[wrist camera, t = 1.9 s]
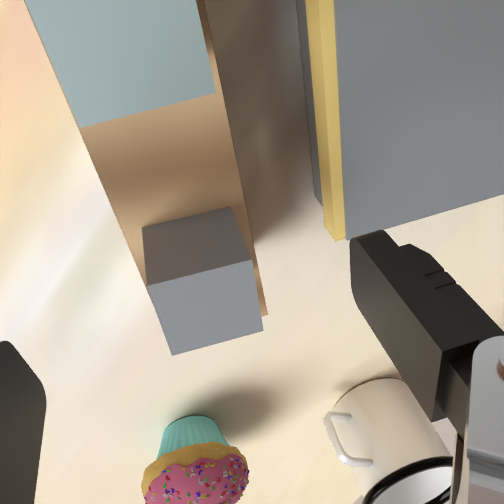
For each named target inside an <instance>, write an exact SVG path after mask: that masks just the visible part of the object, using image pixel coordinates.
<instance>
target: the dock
mask: <svg viewBox="0 0 504 504" xmlns="http://www.w3.org/2000/svg"><path fill="white" fill-rule="evenodd" d="M296 5H297V16H298V26H299V36H300V46H301V57H302V67H303V77H304V88H305V98H306V108H307V119H308V129H309V139H310V150H311V160H312V170H313V181H314V191H315V197H316V198H317V200H318V201H319V202H320V204H321V205H322V206H323V214H324V225H325V227H326V229H327V230H328V232H329V233H330V234H331V236H332V237H333V239H334V240H335V241H338V240H342V239H345V238H346V240H350V239H351V238H354V237H357V236H361V235H364V234H367V233H371V232H374V231H377V230H384V229H387V228H391V227H394V226H397V225H401V224H404V223H408V222H411V221H414V220H418V219H421V218H425V217H428V216H431V215H435V214H438V213H442V212H445V211H448V210H452V209H455V208H459V207H462V206H465V205H469V204H472V203H476V202H479V201H482V200H486V199H489V198H492V197H496V196H499V195H503V194H504V0H296Z"/></svg>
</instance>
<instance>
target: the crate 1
mask: <svg viewBox="0 0 504 504" xmlns="http://www.w3.org/2000/svg"><path fill="white" fill-rule="evenodd" d="M24 1H25V3H26V5H27V7H28V10H29V12H30V14H31V17H32V19H33V21H34V24H35V26H36V28H37V31H38V33H39V35H40V38H41V40H42V42H43V45H44V47H45V49H46V52H47V54H48V56H49V58H50V61H51V63H52V65H53V68H54V70H55V72H56V75H57V77H58V79H59V82H60V84H61V86H62V89H63V91H64V93H65V96H66V98H67V100H68V102H69V105H70V107H71V109H72V112H73V114H74V116H75V119H76V121H77V123H78V126H79V128H82V127H86V126H90V125H94V124H97V123H101V122H105V121H109V120H113V119H117V118H121V117H125V116H128V115H132V114H136V113H140V112H144V111H148V110H152V109H156V108H159V107H163V106H167V105H171V104H175V103H179V102H183V101H186V100H190V99H194V98H198V97H202V96H206V95H210V94H214V93H216V90H215V85H214V80H213V76H212V71H211V67H210V62H209V58H208V53H207V49H206V44H205V40H204V35H203V31H202V26H201V22H200V17H199V13H198V8H197V3H196V0H24Z"/></svg>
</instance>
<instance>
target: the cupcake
mask: <svg viewBox="0 0 504 504" xmlns="http://www.w3.org/2000/svg"><path fill="white" fill-rule="evenodd" d="M248 473H249V470H248V466H247V461H246V458H245V457H244V456H243V455H242V454H241V453H240V451H239V450H238V449H237V448H236V447H233V446H229V444H228V443H227V442H226V440H225V439H224V437H223V435H222V434H221V432H220V430H219V428H218V427H217V425H216V423H215V422H214V421H213V420H212V419H210V418H208V417H205V416H188V417H184V418H181V419H179V420H177V421H175V422H173V423H172V424H170V425H169V426H168V427H167V428H166V429H165V431H164V433H163V437H162V442H161V446H160V450H159V454H158V457H157V460H156V461H155V462H153V463H152V464H150V465H149V466H148V467H147V468H146V469H145V472H144V476H143V480H142V485H141V488H142V493H143V496H144V499H145V501H146V503H145V504H235V503H236V502H238V500H240V497H242V496H243V494H242V492H243V491H244V490H245V488H246V486H247V485H246V484H248V483H249V480H248Z"/></svg>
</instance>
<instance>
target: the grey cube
mask: <svg viewBox="0 0 504 504" xmlns="http://www.w3.org/2000/svg"><path fill="white" fill-rule="evenodd" d="M142 238H143V250H144V261H145V272H146V283H147V288H148V291H149V294H150V296H151V299H152V302H153V305H154V307H155V310H156V313H157V316H158V318H159V321H160V324H161V327H162V329H163V332H164V335H165V337H166V340H167V343H168V346H169V348H170V351H171V354H172V356H173V355H177V354H180V353H184V352H188V351H191V350H195V349H199V348H202V347H206V346H210V345H213V344H217V343H221V342H224V341H228V340H231V339H235V338H239V337H242V336H246V335H250V334H253V333H257V332H261V331H263V325H262V319H261V312H260V306H259V300H258V294H257V287H256V281H255V275H254V269H253V262H252V258H251V256H250V253H249V251H248V248H247V246H246V243H245V241H244V238H243V236H242V233H241V231H240V229H239V226H238V224H237V221H236V219H235V216H234V214H233V211H232V209H231V206H230V207H226V208H221V209H217V210H213V211H209V212H205V213H200V214H196V215H192V216H188V217H184V218H180V219H175V220H171V221H167V222H163V223H159V224H154V225H150V226H146V227H142Z"/></svg>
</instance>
